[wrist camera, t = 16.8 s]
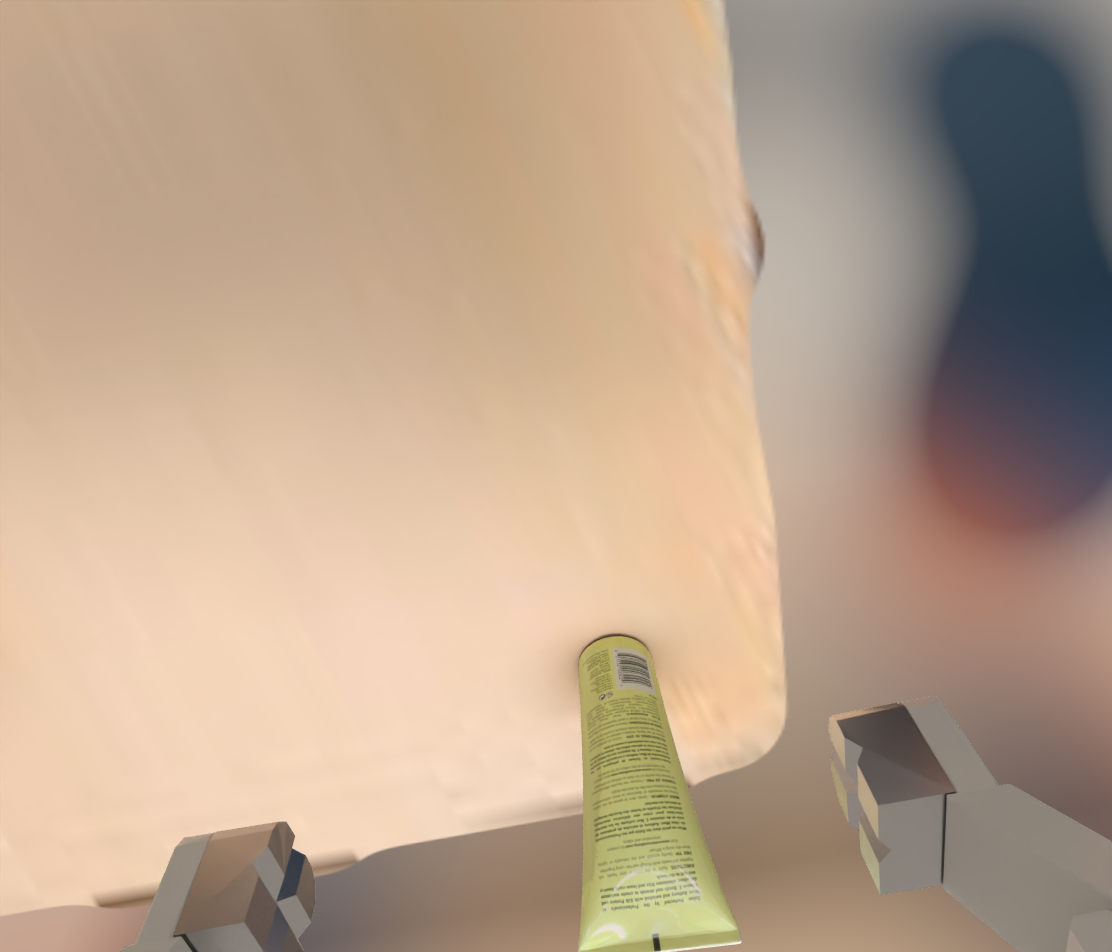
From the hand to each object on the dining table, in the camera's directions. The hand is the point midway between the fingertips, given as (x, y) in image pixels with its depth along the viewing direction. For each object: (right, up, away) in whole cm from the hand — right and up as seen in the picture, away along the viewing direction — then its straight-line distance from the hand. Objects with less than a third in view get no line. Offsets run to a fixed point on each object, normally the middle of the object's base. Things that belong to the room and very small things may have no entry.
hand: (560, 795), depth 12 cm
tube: (+4, -8, +42) cm, 43 cm away
